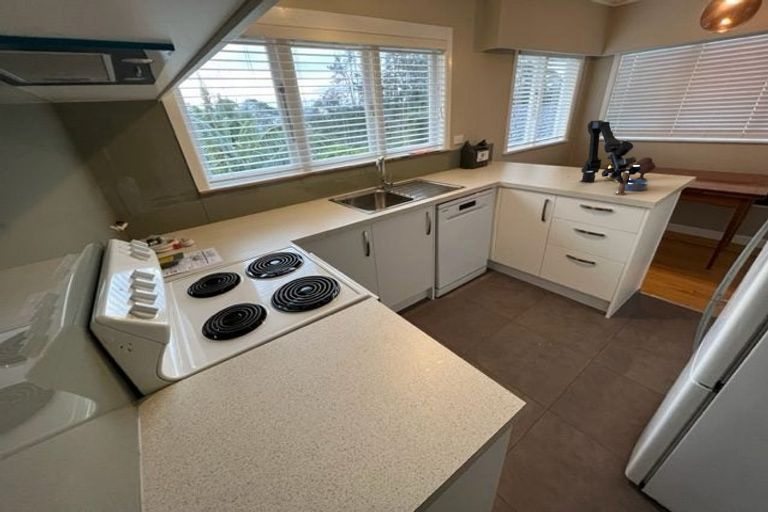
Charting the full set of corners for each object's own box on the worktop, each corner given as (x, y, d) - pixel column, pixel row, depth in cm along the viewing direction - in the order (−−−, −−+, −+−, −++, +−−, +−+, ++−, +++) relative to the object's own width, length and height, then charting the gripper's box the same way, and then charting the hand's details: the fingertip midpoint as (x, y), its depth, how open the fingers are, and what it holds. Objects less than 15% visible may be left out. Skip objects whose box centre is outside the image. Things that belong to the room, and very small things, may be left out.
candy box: (605, 177, 213) (608, 165, 209) (609, 177, 213) (612, 165, 209) (616, 182, 199) (619, 169, 195) (620, 182, 198) (623, 169, 195)
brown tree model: (655, 180, 195) (663, 157, 188) (638, 182, 195) (644, 158, 189) (643, 177, 204) (650, 154, 197) (626, 178, 205) (632, 156, 198)
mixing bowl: (613, 188, 186) (615, 181, 184) (626, 185, 191) (628, 178, 189) (638, 192, 175) (640, 185, 173) (650, 188, 180) (653, 181, 178)
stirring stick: (614, 193, 177) (620, 171, 171) (618, 192, 178) (624, 170, 173) (622, 195, 173) (628, 172, 167) (626, 194, 175) (633, 171, 169)
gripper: (609, 153, 170) (617, 176, 165) (644, 150, 168) (652, 174, 163) (598, 165, 180) (604, 187, 175) (630, 162, 179) (638, 185, 174)
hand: (625, 183), depth 172 cm, fingers closed on stirring stick, 2 cm apart
